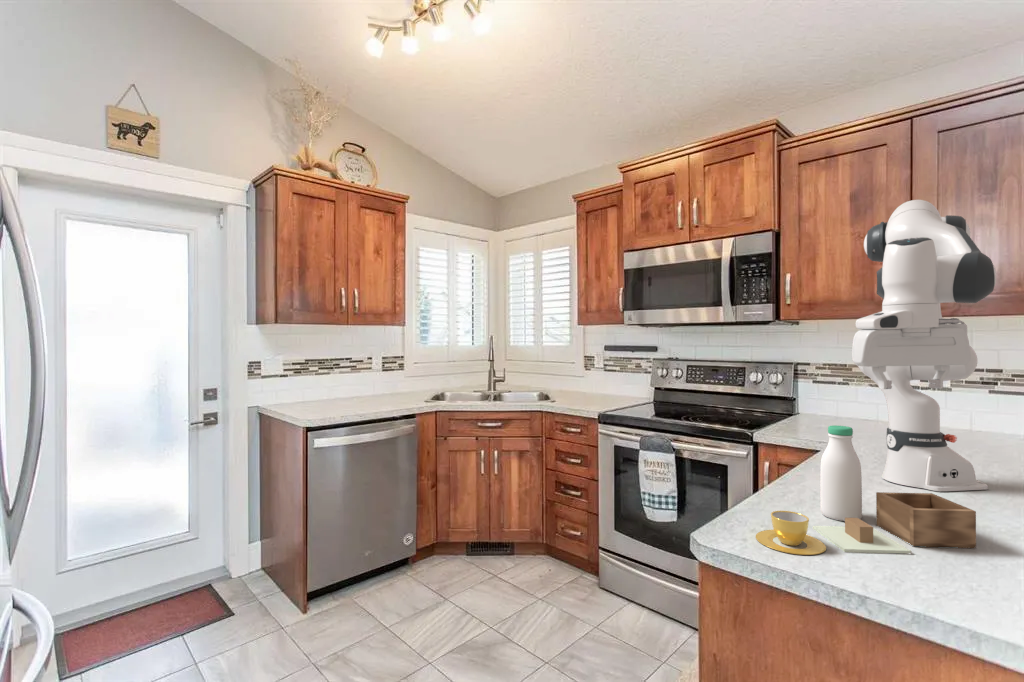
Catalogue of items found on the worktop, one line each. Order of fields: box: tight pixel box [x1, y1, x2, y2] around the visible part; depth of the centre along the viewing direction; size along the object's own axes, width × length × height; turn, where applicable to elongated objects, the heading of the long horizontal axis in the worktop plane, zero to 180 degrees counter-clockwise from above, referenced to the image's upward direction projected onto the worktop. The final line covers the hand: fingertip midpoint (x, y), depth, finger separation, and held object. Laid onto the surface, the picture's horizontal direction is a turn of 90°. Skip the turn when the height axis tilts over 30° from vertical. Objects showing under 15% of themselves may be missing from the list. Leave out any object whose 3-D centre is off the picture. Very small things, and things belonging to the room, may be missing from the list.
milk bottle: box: [819, 425, 863, 522], centre depth 111 cm, size 8×8×20 cm
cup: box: [755, 510, 827, 556], centre depth 97 cm, size 12×12×5 cm
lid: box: [812, 518, 912, 554], centre depth 98 cm, size 12×12×4 cm
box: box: [875, 491, 977, 549], centre depth 100 cm, size 11×11×7 cm
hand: (910, 388), depth 100 cm, fingers open, 8 cm apart
